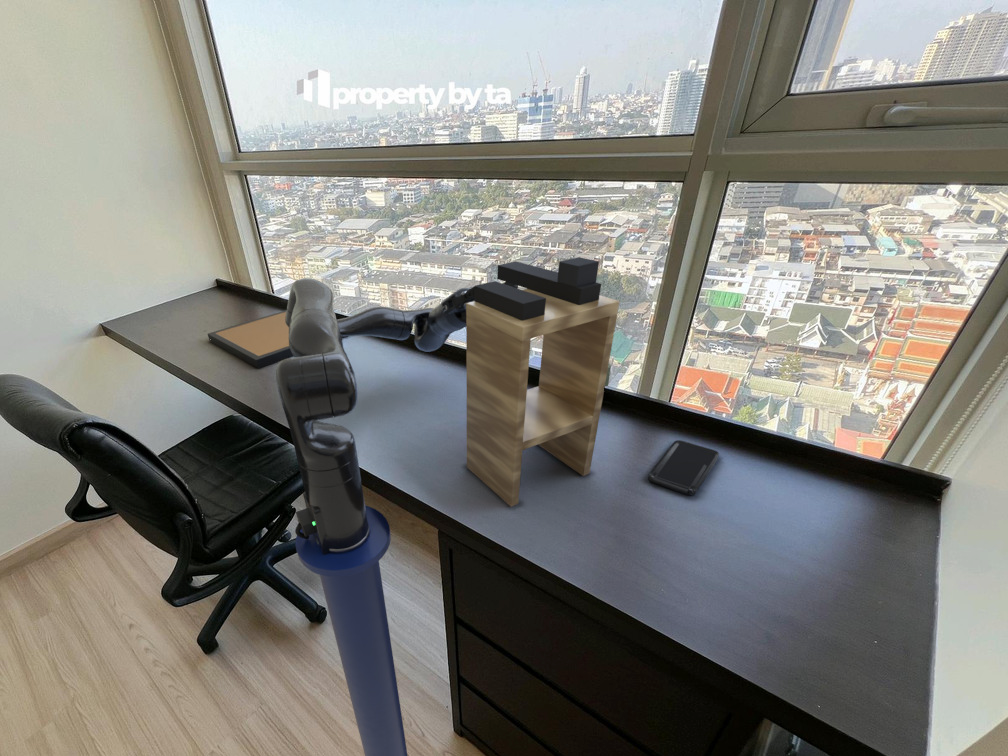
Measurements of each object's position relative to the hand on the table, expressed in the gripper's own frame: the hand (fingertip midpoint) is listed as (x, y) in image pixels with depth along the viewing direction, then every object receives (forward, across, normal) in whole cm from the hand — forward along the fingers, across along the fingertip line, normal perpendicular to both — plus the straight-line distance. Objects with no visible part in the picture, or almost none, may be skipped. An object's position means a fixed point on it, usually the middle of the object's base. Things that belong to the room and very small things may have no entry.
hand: (497, 286), depth 90 cm
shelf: (+1, +5, -35) cm, 35 cm away
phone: (+14, -19, -42) cm, 48 cm away
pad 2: (+12, 0, -4) cm, 13 cm away
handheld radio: (-12, -19, -27) cm, 35 cm away
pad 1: (+16, +10, -6) cm, 20 cm away
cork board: (-88, +26, +17) cm, 94 cm away
